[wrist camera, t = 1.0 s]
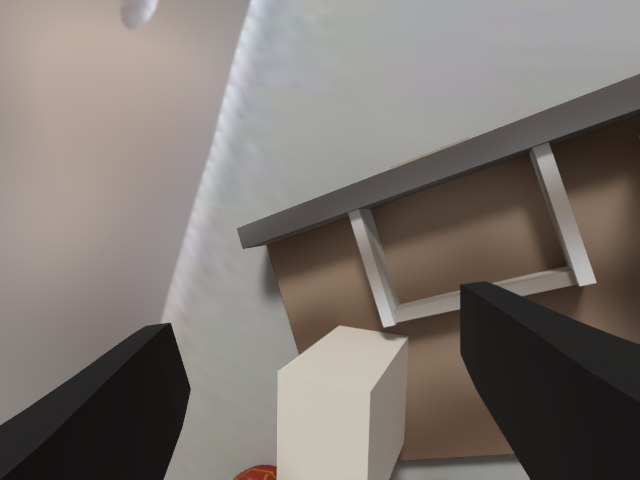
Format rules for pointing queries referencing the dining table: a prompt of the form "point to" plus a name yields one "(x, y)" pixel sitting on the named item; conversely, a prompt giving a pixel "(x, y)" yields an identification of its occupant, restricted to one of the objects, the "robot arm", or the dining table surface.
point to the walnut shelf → (471, 250)
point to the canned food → (258, 473)
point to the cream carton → (343, 407)
